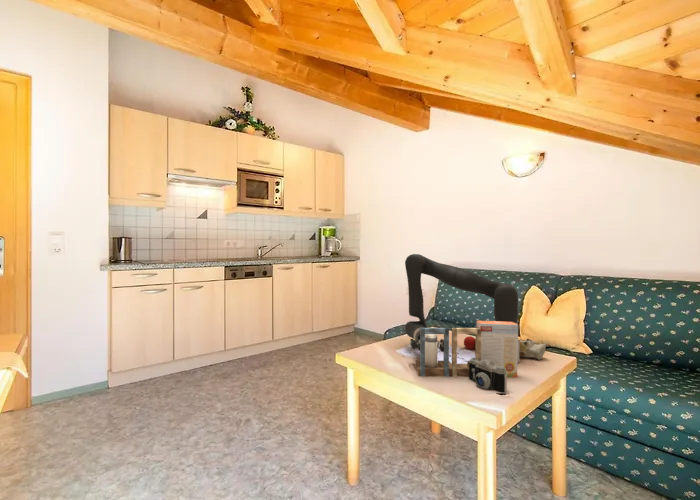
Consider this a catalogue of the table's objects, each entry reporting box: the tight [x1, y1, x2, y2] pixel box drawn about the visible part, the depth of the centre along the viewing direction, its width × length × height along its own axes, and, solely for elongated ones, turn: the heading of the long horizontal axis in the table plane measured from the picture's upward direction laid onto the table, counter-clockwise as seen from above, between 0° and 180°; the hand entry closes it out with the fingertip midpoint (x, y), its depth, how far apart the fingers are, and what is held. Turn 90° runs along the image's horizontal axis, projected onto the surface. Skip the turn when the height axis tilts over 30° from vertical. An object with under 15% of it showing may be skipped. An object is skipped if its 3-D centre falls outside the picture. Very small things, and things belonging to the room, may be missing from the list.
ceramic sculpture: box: [519, 338, 547, 361], centre depth 154 cm, size 11×9×15 cm
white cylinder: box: [425, 334, 438, 368], centre depth 134 cm, size 5×5×14 cm
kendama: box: [463, 335, 476, 350], centre depth 165 cm, size 8×6×18 cm
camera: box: [468, 357, 508, 396], centre depth 120 cm, size 15×7×10 cm, turn 30°
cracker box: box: [476, 320, 519, 378], centre depth 131 cm, size 14×6×21 cm, turn 85°
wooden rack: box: [412, 327, 481, 378], centre depth 135 cm, size 24×14×19 cm, turn 90°
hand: (432, 349), depth 132 cm, fingers open, 8 cm apart
